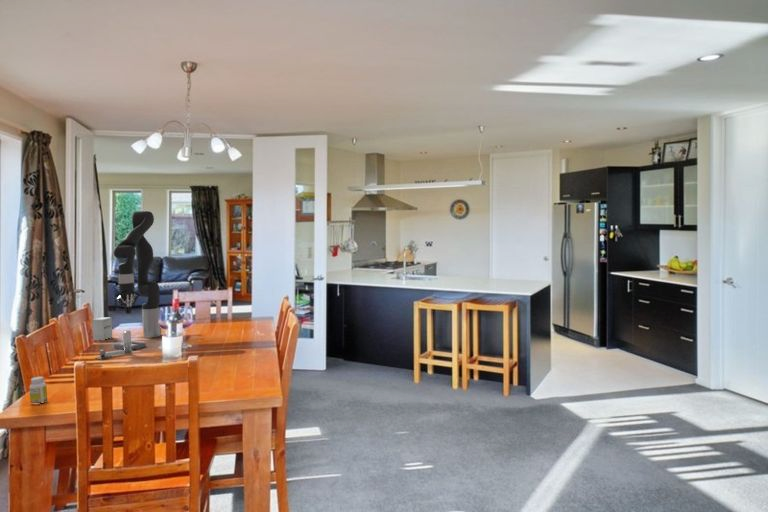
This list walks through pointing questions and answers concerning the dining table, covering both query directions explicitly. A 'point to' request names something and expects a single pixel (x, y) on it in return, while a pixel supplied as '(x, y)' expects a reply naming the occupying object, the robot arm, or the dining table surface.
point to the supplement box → (102, 328)
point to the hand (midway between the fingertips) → (128, 313)
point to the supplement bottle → (38, 390)
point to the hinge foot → (103, 357)
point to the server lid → (133, 345)
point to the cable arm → (126, 350)
